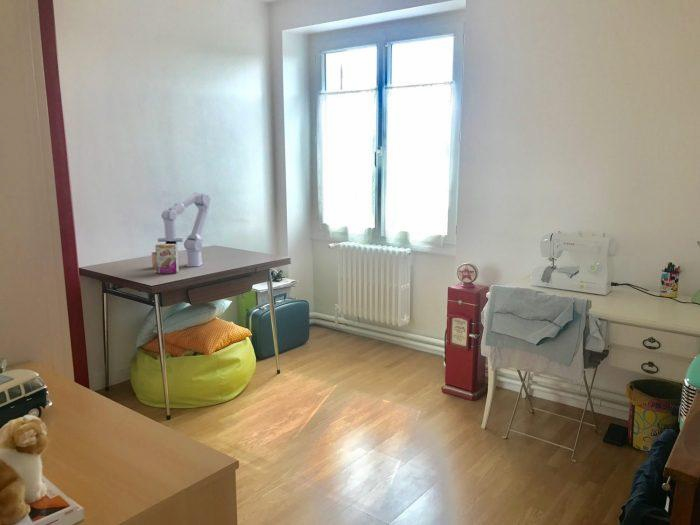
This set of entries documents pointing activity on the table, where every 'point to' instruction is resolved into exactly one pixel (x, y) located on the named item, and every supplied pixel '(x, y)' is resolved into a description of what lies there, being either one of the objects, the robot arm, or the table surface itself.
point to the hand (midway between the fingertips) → (171, 254)
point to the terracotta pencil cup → (154, 260)
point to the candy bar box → (167, 258)
